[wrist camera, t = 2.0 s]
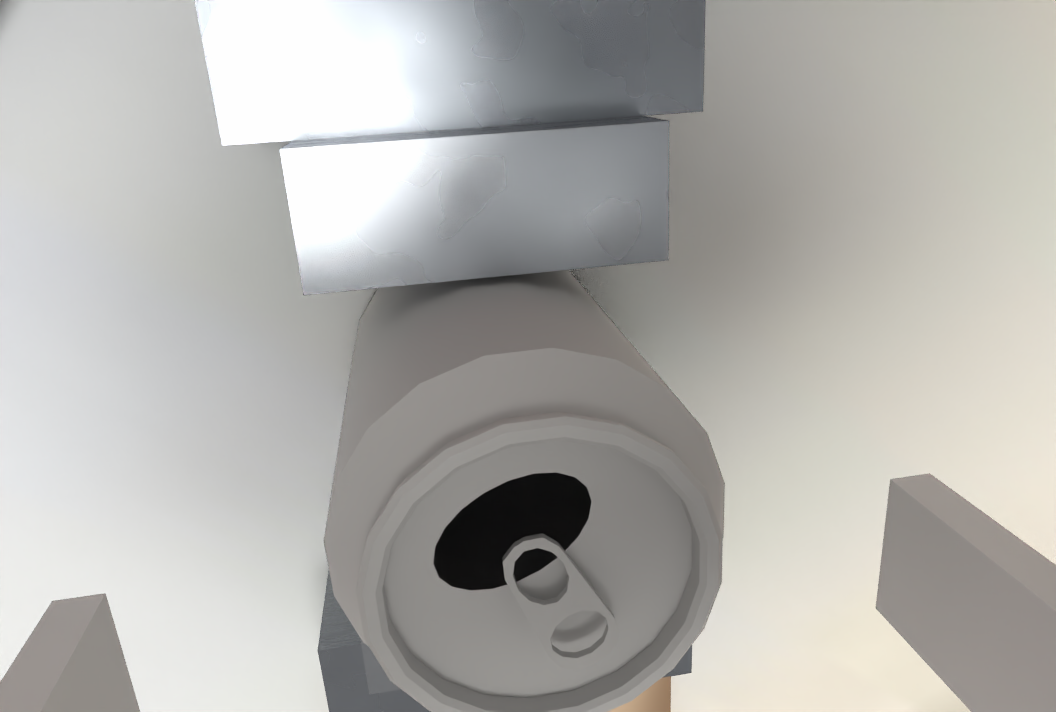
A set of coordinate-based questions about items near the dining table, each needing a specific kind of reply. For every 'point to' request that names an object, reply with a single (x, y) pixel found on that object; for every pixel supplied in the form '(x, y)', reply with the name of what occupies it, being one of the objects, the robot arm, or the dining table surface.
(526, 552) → the can
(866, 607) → the dining table surface
